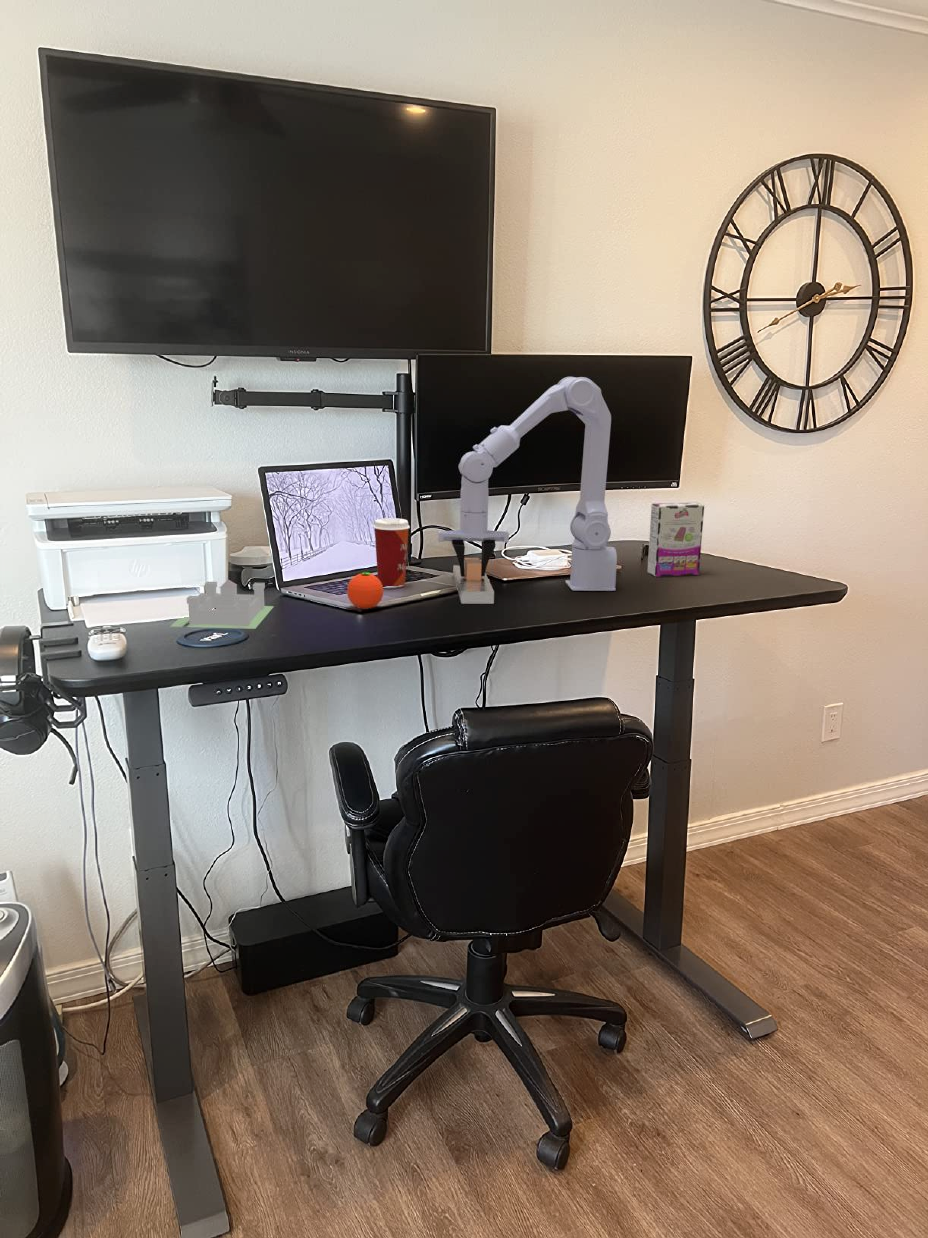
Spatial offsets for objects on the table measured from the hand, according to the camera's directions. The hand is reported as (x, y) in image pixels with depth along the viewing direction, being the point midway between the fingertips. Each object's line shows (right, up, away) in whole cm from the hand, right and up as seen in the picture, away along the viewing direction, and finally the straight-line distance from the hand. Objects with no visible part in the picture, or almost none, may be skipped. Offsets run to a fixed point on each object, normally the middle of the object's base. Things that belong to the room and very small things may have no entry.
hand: (472, 575), depth 188 cm
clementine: (-21, -7, -15) cm, 27 cm away
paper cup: (-17, -2, +2) cm, 18 cm away
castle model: (-46, -9, -23) cm, 52 cm away
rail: (0, -3, +1) cm, 3 cm away
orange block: (0, -3, +1) cm, 3 cm away
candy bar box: (+47, +1, +19) cm, 50 cm away
